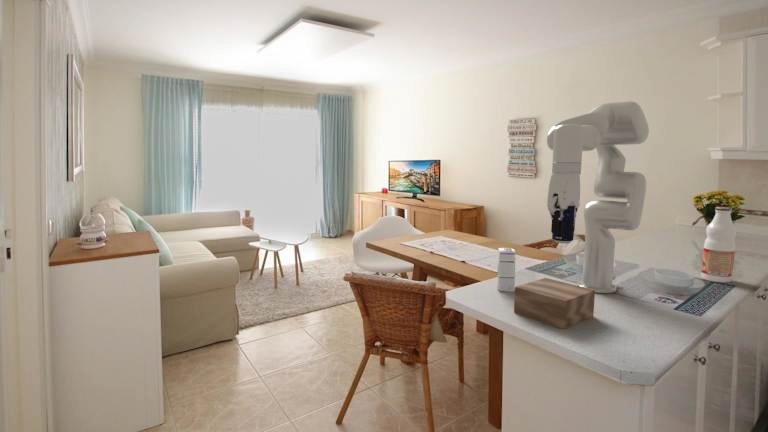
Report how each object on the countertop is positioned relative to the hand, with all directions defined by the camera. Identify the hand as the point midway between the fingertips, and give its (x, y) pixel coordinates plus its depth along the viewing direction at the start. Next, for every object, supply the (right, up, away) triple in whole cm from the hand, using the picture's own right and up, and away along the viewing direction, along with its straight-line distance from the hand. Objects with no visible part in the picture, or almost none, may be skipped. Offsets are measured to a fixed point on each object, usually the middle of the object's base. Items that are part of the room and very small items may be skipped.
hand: (562, 231), depth 121 cm
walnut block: (-1, -25, +4) cm, 25 cm away
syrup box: (-8, -22, +29) cm, 37 cm away
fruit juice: (+76, -20, +41) cm, 89 cm away
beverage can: (0, -3, 0) cm, 3 cm away
